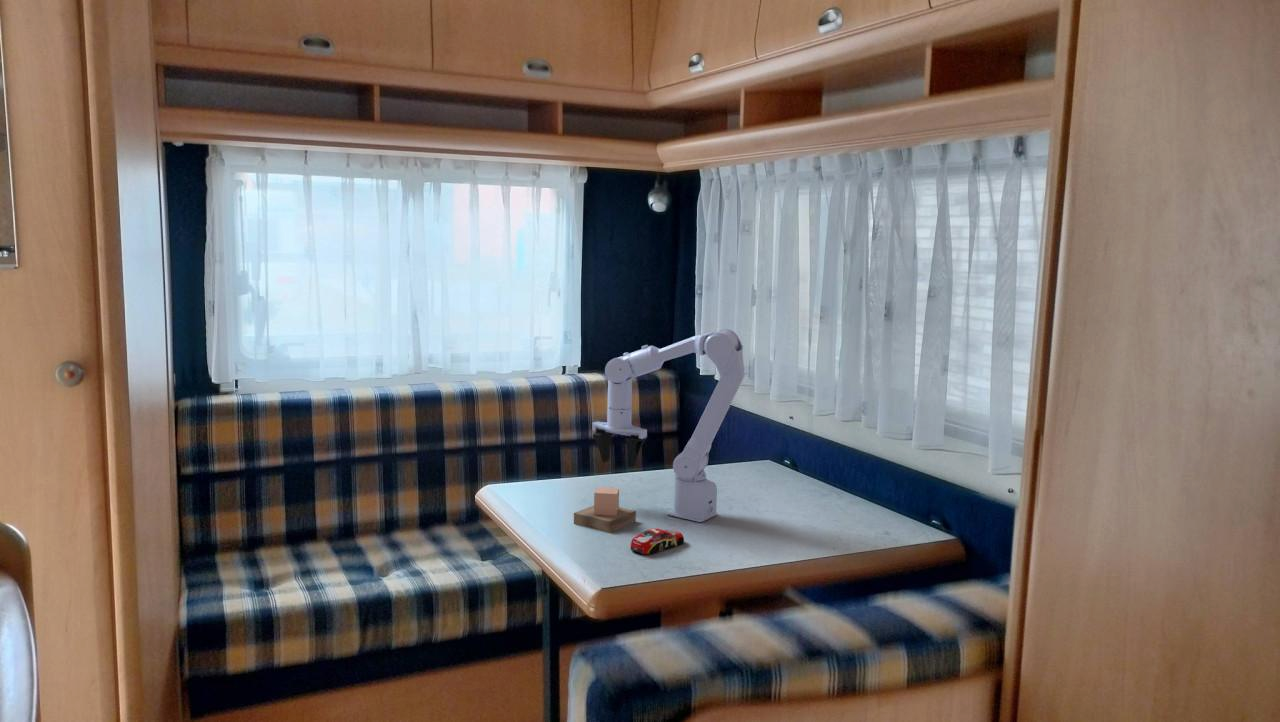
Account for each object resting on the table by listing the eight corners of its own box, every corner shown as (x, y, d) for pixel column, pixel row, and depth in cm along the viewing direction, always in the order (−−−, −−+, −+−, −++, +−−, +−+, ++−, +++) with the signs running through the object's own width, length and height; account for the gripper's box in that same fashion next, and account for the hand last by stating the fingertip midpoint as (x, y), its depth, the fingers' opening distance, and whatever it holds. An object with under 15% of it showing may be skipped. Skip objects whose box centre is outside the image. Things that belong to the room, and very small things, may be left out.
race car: (670, 538, 199) (671, 520, 199) (688, 544, 196) (689, 526, 195) (625, 551, 190) (626, 532, 190) (644, 558, 187) (644, 539, 186)
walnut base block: (635, 523, 210) (635, 510, 209) (609, 534, 202) (609, 521, 201) (600, 515, 215) (600, 502, 215) (573, 525, 207) (573, 512, 207)
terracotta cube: (618, 509, 210) (619, 487, 210) (616, 515, 205) (616, 493, 205) (597, 508, 211) (597, 486, 210) (594, 514, 206) (594, 492, 205)
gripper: (654, 409, 217) (653, 465, 219) (604, 401, 225) (603, 456, 227) (637, 413, 211) (636, 471, 213) (587, 405, 219) (586, 461, 221)
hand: (618, 463), depth 220 cm, fingers open, 7 cm apart
